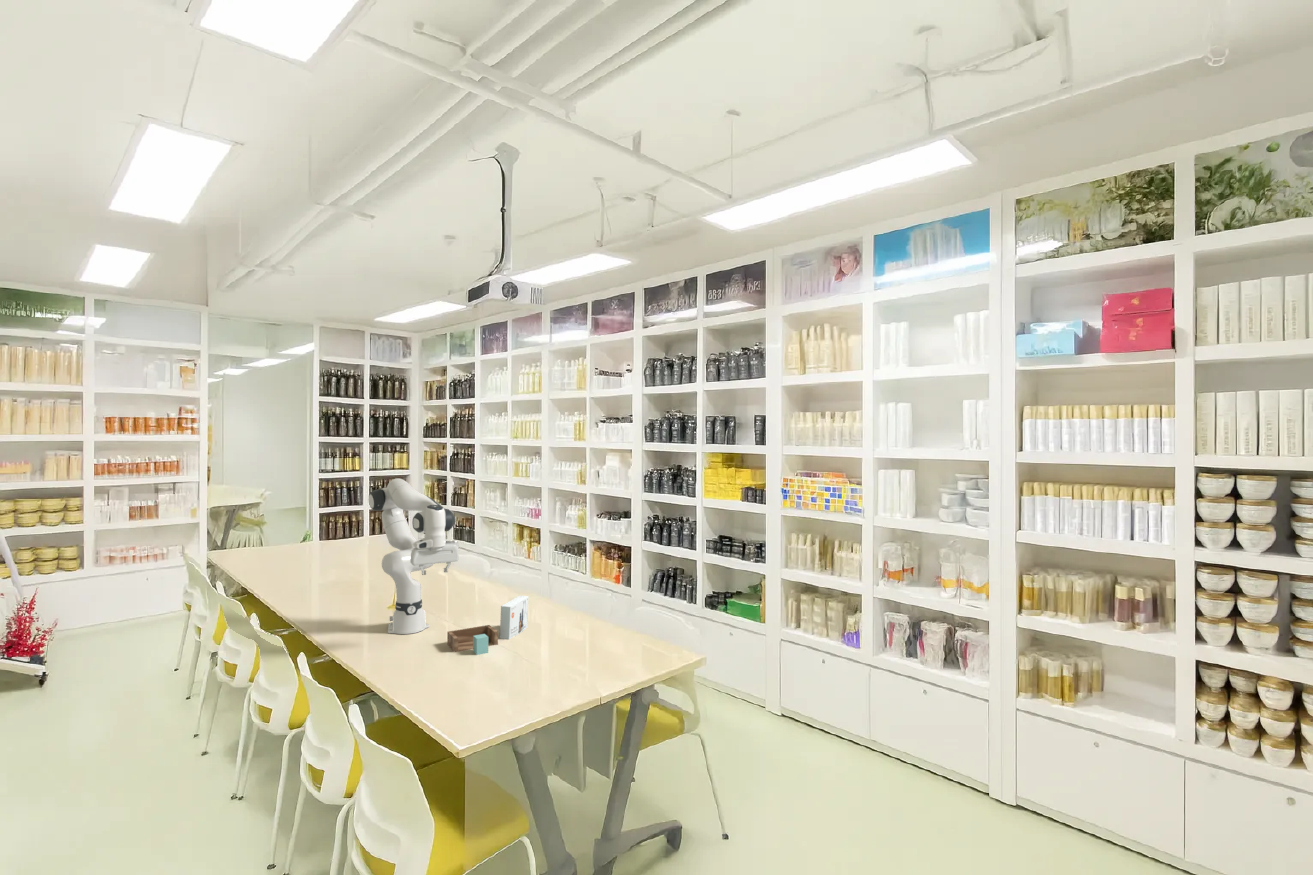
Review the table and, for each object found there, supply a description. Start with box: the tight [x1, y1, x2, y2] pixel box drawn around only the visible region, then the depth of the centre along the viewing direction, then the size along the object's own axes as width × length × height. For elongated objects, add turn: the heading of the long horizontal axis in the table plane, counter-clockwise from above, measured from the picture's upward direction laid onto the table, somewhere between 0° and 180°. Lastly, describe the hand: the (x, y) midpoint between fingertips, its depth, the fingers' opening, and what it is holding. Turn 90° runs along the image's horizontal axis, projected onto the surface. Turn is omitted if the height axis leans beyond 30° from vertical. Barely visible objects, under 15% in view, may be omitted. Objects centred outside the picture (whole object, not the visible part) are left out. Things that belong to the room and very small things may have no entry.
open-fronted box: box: [446, 624, 499, 653], centre depth 281 cm, size 12×19×6 cm, turn 123°
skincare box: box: [499, 595, 529, 640], centre depth 299 cm, size 21×6×16 cm, turn 168°
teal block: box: [472, 634, 489, 656], centre depth 271 cm, size 5×5×7 cm
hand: (435, 573), depth 278 cm, fingers open, 8 cm apart
